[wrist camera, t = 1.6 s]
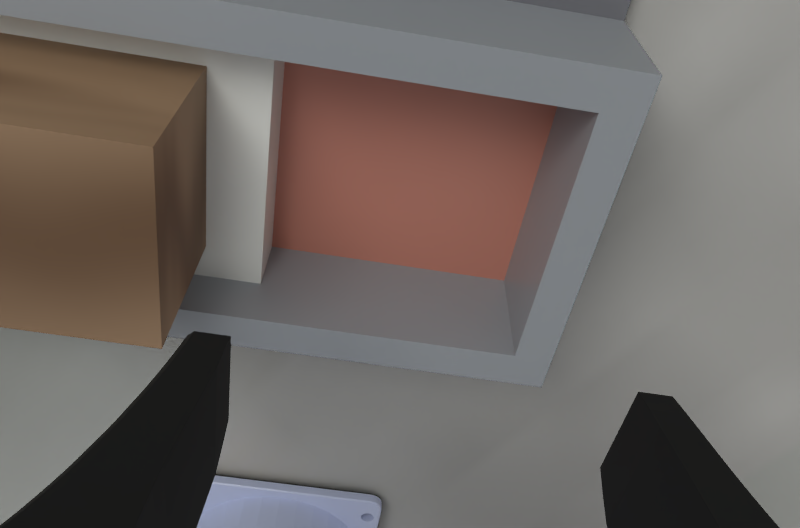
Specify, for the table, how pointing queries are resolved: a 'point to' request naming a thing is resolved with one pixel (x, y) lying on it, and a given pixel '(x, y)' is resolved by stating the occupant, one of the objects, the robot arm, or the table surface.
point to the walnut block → (99, 189)
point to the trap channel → (392, 166)
